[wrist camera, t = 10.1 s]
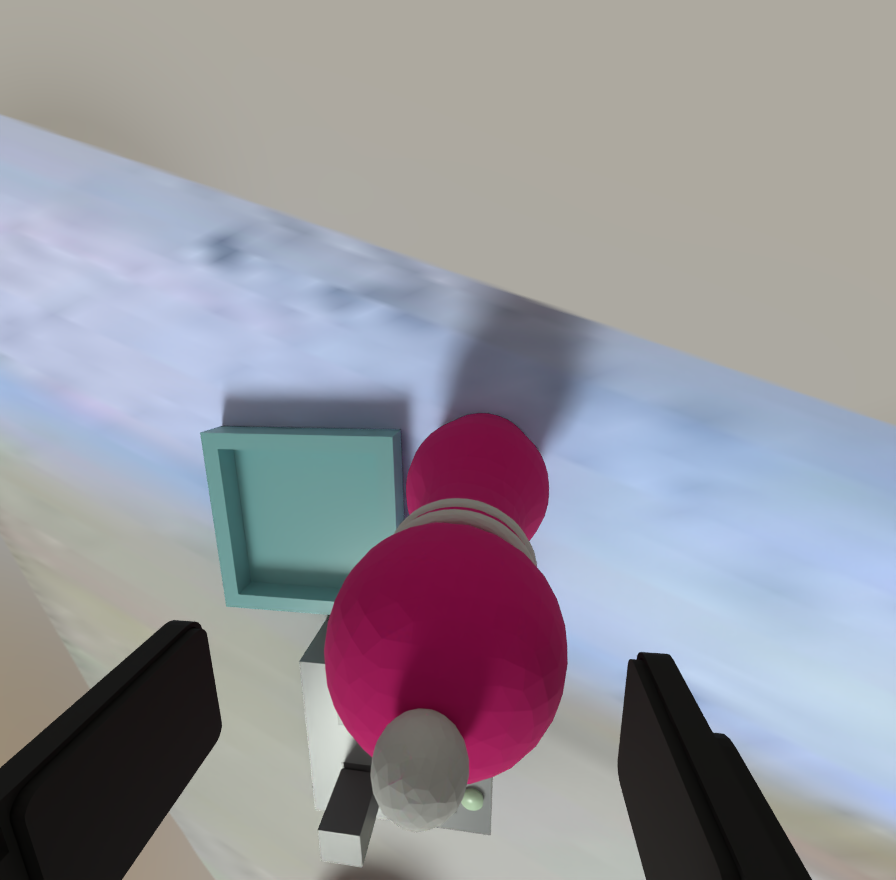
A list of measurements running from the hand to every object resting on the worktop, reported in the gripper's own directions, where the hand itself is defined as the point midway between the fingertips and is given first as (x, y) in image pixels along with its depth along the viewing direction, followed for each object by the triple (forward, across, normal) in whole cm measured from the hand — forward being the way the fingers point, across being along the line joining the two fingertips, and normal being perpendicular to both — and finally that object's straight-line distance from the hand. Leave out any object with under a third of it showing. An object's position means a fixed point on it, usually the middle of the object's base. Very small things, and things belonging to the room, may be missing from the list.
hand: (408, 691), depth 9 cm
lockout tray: (+18, +10, +4) cm, 21 cm away
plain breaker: (+13, +7, +21) cm, 26 cm away
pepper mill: (+18, -1, 0) cm, 18 cm away
